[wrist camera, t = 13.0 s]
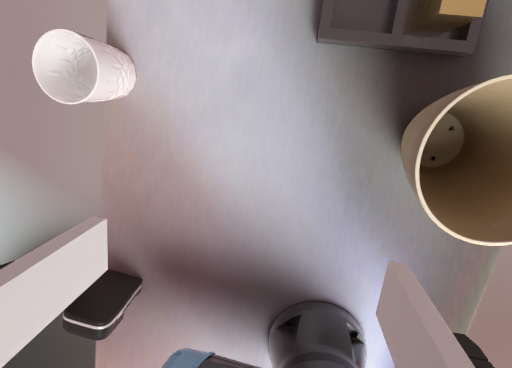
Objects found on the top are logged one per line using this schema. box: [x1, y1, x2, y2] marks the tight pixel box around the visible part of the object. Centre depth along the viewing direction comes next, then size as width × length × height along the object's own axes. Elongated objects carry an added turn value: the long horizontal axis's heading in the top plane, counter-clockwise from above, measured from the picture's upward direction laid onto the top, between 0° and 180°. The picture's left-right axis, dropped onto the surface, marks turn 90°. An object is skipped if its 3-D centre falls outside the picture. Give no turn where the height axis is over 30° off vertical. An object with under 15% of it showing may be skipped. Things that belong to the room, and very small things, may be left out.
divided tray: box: [317, 0, 489, 56], centre depth 38 cm, size 8×18×3 cm, turn 84°
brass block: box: [411, 0, 487, 33], centre depth 35 cm, size 4×4×8 cm
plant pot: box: [401, 74, 512, 246], centre depth 35 cm, size 15×15×16 cm
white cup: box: [32, 29, 136, 104], centre depth 41 cm, size 8×8×10 cm
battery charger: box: [63, 270, 143, 340], centre depth 49 cm, size 7×4×11 cm, turn 77°
